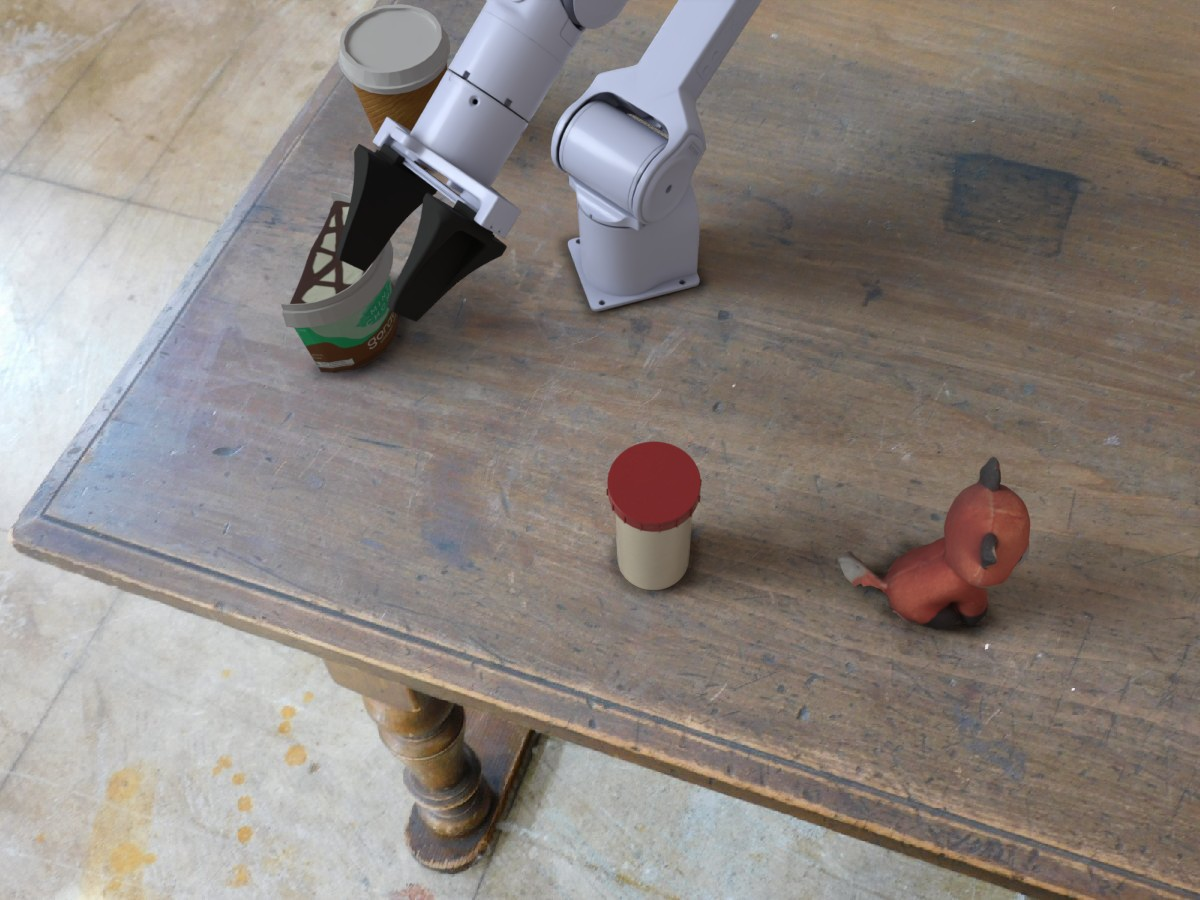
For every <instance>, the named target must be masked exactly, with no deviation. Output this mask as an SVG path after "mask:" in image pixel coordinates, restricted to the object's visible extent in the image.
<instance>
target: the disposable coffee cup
mask: <svg viewBox="0 0 1200 900" xmlns="http://www.w3.org/2000/svg"><path fill="white" fill-rule="evenodd" d="M450 53H451V41H450V37H449V34H448V33H447V31H446V30H445V28H444V27H443V26H442V25H441V24H440V22H439V21H438V19H437V18H436V17H435V16H434V15H433V14H432V13H431V12H430V11H428V10H426V9H424V8H421V7H418V6H414V5H411V4H401V3H396V4H395V3H394V4H384V5H380V6H377V7H373V8H371V9H369V10H366V11H364V12H362V13H359V15H357V16H356V17H354V18H353V19H352V20H350V21H349V23H347V24H346V26H345V27H344V29H343V30H342V32H341V35H340V38H339V46H338V49H337V63H338V66H339V69H340V70H341V73H342V74H343V75H344V76H345V77H346V78H347V79H348V80H349V81H350V82H351V84H352V87H353V89H354V91H355V92H356V95H357V97H358V101H359V102H360V103H361V107H362V108H363V111H364V112H365V115H366V117H367V119H368V121H369V123H370V126H371V128H372V130H373V132H374V134H375V136H376V135H377V133H378V131H379V130H380V128H381V126H382V124H383V123H384V121H385V119H386V117H389V118H391V119H392V120H394V121H395V122H397V123H399V124H400V125H402V126H404V127H405V128H407V129H408V130H410V131H412V129H413V128H414V126H415V124H416V123H417V121H418V119H419V117H420V116H421V114H422V112H423V111H424V109H425V107H426V105H427V104H428V102H429V100H430V99H431V97H432V95H433V93H434V92H435V90H436V88H437V86H438V85H439V83H440V81H441V80H442V78H443V76H444V74H445V73H446V71H447V70H448V59H449V56H450ZM420 166H421V167H422V168H424V169H426V168H427V167H425V166H424V165H422V164H421V165H420Z"/></svg>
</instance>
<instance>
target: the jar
mask: <svg viewBox="0 0 1200 900" xmlns="http://www.w3.org/2000/svg"><path fill="white" fill-rule="evenodd" d="M693 516H694V513H693V514H692V517H689V518H688V519H687V520H686V521H685V522H684V523H682V524H681V525H679V526H678V528H677V527H675V528H673V529H670V530H666V531H660V533H659V532H648V531H643V530H642V531H640V530H639V529H636V528H633V527H631V526H630V525H628V524H626V523H625V524H624V523H623V521H622V520H621V519H620V518H619V517H618V516H617V515H616V513H615V512H614V524H615V525H614V526H615V544H616V559H617V560H616V561H617V565H618V569H619V571H620V572H621V574H622V576H623V577H624V578H625V579H626V580H627V582H629V583H630V584H632V585H633V586H635V587H637V588H640V589H642V590H647V591H659V590H665V589H667V588H670V587H672V586H673V585H675V584H676V583H678V582H679V581H680V580H681V579H682V578H683V576H685V574H686V571H687V570H688V568H689V567H688V566H689V563H690V554H691V553H690V551H691V542H692V529H693V528H692V527H693Z"/></svg>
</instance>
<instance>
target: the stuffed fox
mask: <svg viewBox="0 0 1200 900" xmlns="http://www.w3.org/2000/svg"><path fill="white" fill-rule="evenodd" d="M1001 483H1002V472H1001V466H1000V461H999V459H998V457H996V456H991V457H990V458H988V460H987V461H986V463H985V464H984V465H983V466H981V467H980V470H979V479H978V480H977V481H976V482H975V483H973V484H970V485H969V486H967V487H966V488H964V489H963V490H961V491H960V492H959V493H958V494H957V496H956V497H955V498H954V500H953V501H952V503H951V505H950V507H949V509H948V511H947V513H946V516H945V521H944V524H943V537H940V538H938V539H936V540H934V541H932V542H931V543H928V544H924V545H920V546H917V547H914V548H910V549H908V550H907V551H906V552H904V553H902V554H901V555H899V556H898V557H897V558H895V560H894V561H893V563H891V565H890V566H889V569H888V570H887V571H886V572H885V573H883V574H882V573H880V574H879V575H877V574H876V573H875V572H874V571H873V570H872V569H871V568H870V567H868V566H867V565H866V564H865V563H864V562H863V561H862V560H861V559H860V558H858V557H857V556H855V554H854V553H853V552H852V551H851V550H849V551H846V552H845V553H842V554H841V555H839V556H838V557H837V561H838V564H839V566H840V568H841V571H842V573H843V575H844V577H845V578H846V580H848V581H849V582H850V583H851V585H853V586H854V587H857V586H858V585H861V586H862V587H863V588H864V587H867V586H872V587H874V588H876V589H879V590H881V591H882V593H884V594H886V595H887V597H888V601H889V607H890V608H891V609H892V612H893V613H894V614H897V616H899V618H901V621H903V622H906V623H909V624H916V625H918V626H921V627H924V628H930V629H933V630H937V631H938V630H940V631H945V630H950V629H952V628H953V627H955V626H956V625H958V624H960V623H961V624H962V625H965V626H969V627H974V626H977V625H978V624H980V623H981V621H982V620H984V619H985V617H987V613H988V607H989V600H988V589H992V588H996V587H1000V586H1002V585H1003V584H1005V582H1006V581H1008V580H1009V578H1010V577H1011V575H1012V573H1013V571H1014V570H1015V568H1017V567H1019V566H1020V565H1022V564H1024V562H1025V561H1026V560H1027V559H1028V556H1029V554H1030V535H1031V517H1030V513H1029V510H1028V507H1027V505H1026V503H1025V501H1024V500H1023V499H1022V497H1021V496H1020V495H1018V494H1017V493H1016V492H1015V491H1014V490H1012V489H1011V488H1009V487H1008V486H1006V485H1004V484H1001Z"/></svg>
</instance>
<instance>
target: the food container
mask: <svg viewBox="0 0 1200 900" xmlns="http://www.w3.org/2000/svg"><path fill="white" fill-rule="evenodd" d="M329 192H330V196H331V199H332V205H331V207H330V208H329V209H330V210H329V213H328V215H327V218H326V220H325V221H324V224H323V226H322V228H321V231H320V232H319V234H318V236H317V237H316V239H315V241H314V243H313V245H312V247H311V248H310V251H309V253H308V255H307V259H306V262H305V265H304V267H303V271H302V273H301V275H300V279H299V282H298V283H297V285H296V288H295V291H294V293H293V295H292V298H291V299H290V302H289V303H282V302H281V303H280V306H281V309H282V312H281V314H282V317H283V321H284V324H285V327H286V328H293V329H294V330H295V332H296V333H297V335H298V337H299V339H300V340H301V341H302V344H303V345H304V346H305V348H306V350H307V351H308V353H309V355H310V356H311V358H312V360H313V361H314V363H315V365H316V366H317V368H318V370H319V371H320V372H321V373H340V372H348V371H354V370H356V369H358V368H361V367H363V366H365V365H368V364H370V363H372V362H373V361H375V360H376V359H377V358H378V357H380V356H381V355H383V354H384V353H385V352H386V351H387V349H388V348H389V347H390V346H391V344H392V343H393V341H394V339H395V338H396V336H397V331H398V328H399V317H398V315H399V314H396V313H394V312H392V311H391V310H390V309H389V308H388V307H387V305H388V301H389V298H390V295H391V292H392V290H393V285H392V281H391V271H392V268H393V264H394V250H393V243H392V241H391V239H390V240H389V241H388V243H387V244H386V246H385V247H384V248H383V250H382V251H381V253H380V254H379V256H378V257H377V258H376V260H375V261H374V262H373V263H372V264H371V265H370V266H369V267H368V268H367V269H366V270H365V271H362V270H360V269H358V268H356V267H354V266H352V265H349V264H347V263H345V262H343V261H341V260H339V259H338V258H337V257H336V254H337V249H338V246H339V242H340V238H341V235H342V232H343V228H344V225H345V221H346V218H347V214H348V210H349V206H350V202H351V196H350V195H347V194H344V193H342V192H338V191H337V192H336V191H333V190H332V191H329Z"/></svg>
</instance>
